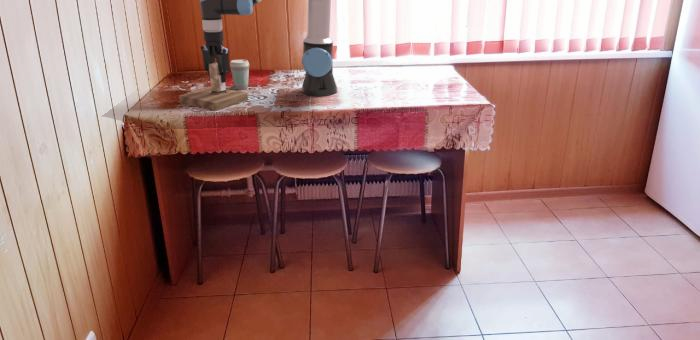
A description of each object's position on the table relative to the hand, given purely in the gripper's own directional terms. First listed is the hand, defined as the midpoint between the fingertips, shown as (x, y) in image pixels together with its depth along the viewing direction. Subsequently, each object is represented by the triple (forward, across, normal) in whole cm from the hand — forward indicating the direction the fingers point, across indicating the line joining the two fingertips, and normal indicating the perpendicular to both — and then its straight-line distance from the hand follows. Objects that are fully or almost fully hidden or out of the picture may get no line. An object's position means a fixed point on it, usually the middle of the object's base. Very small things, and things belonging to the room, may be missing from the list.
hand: (218, 89), depth 209 cm
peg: (+4, 0, 0) cm, 4 cm away
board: (+4, 0, +3) cm, 5 cm away
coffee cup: (+5, +6, -20) cm, 21 cm away
